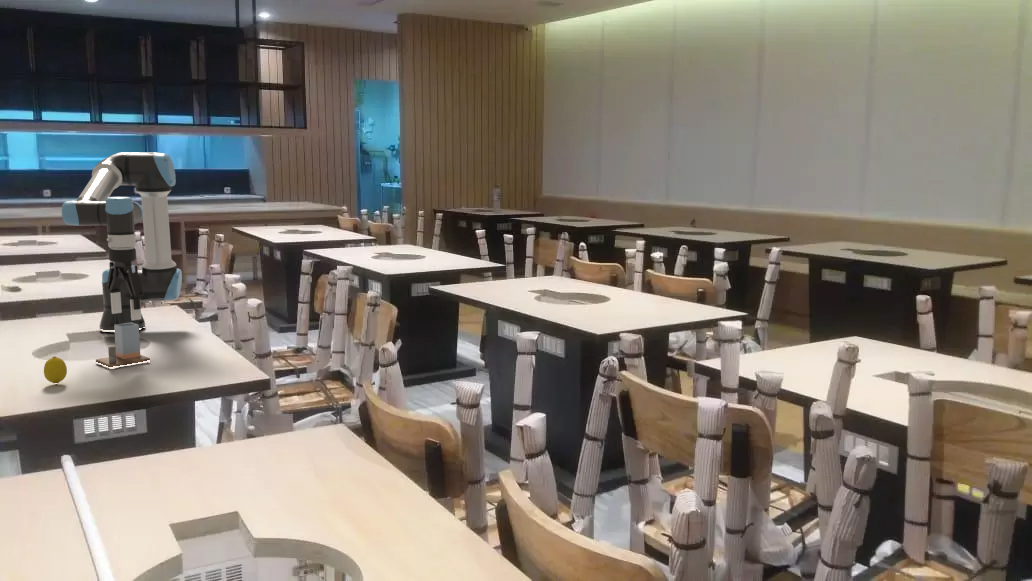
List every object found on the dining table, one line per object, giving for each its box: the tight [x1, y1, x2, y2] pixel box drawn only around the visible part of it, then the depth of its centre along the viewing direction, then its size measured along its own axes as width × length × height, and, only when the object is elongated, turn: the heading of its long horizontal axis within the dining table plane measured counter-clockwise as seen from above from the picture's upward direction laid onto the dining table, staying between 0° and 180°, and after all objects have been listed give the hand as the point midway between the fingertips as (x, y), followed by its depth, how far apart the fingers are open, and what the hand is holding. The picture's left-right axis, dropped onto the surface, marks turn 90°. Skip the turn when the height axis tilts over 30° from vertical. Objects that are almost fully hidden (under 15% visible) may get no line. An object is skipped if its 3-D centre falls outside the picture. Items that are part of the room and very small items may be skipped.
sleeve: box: [114, 323, 141, 359], centre depth 251 cm, size 5×5×10 cm
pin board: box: [95, 345, 151, 367], centre depth 248 cm, size 12×10×6 cm
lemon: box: [43, 355, 68, 384], centre depth 224 cm, size 6×6×8 cm
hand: (126, 316), depth 250 cm, fingers open, 13 cm apart
